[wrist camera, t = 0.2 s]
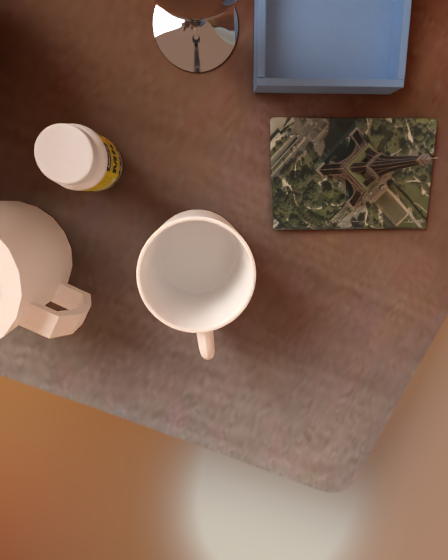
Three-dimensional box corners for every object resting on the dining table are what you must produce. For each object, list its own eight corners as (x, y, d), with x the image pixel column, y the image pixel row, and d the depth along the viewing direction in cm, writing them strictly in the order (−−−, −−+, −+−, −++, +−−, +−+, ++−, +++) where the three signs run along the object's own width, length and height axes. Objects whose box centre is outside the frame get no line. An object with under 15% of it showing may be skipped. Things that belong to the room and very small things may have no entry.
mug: (123, 249, 36) (93, 273, 26) (79, 341, 38) (34, 398, 28) (-19, 179, 34) (-114, 174, 24) (-59, 280, 36) (-164, 317, 25)
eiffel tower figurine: (269, 231, 37) (307, 254, 24) (269, 117, 34) (312, 72, 21) (423, 227, 37) (542, 247, 24) (434, 115, 35) (571, 71, 22)
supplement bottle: (133, 176, 35) (112, 172, 27) (86, 200, 35) (52, 202, 27) (106, 125, 34) (76, 104, 26) (58, 149, 34) (13, 136, 26)
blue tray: (255, -73, 31) (260, -95, 29) (403, -67, 32) (420, -88, 29) (253, 92, 34) (257, 85, 31) (389, 94, 35) (404, 87, 32)
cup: (236, 203, 36) (250, 209, 26) (248, 326, 39) (265, 372, 29) (146, 214, 36) (126, 223, 26) (165, 336, 38) (153, 387, 28)
